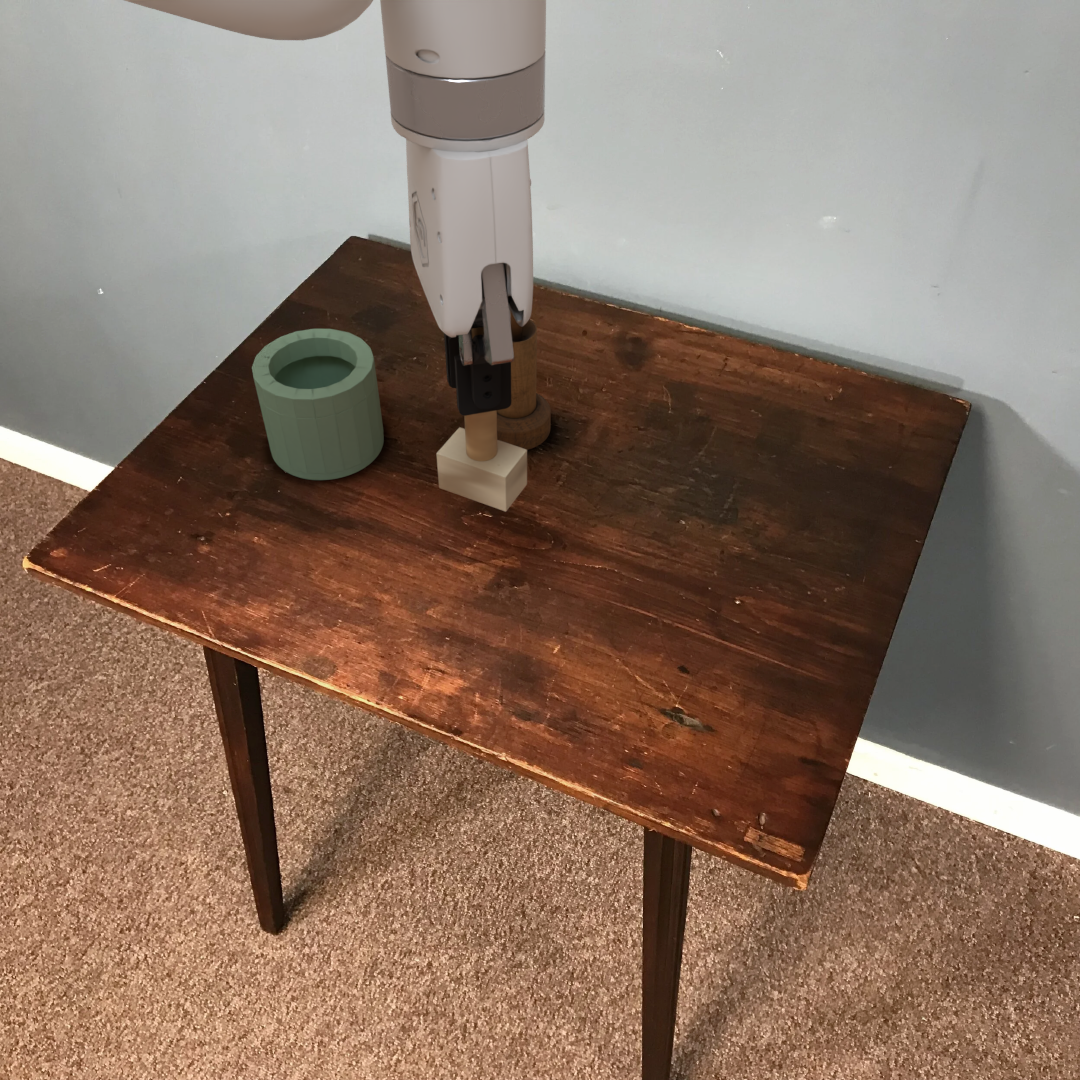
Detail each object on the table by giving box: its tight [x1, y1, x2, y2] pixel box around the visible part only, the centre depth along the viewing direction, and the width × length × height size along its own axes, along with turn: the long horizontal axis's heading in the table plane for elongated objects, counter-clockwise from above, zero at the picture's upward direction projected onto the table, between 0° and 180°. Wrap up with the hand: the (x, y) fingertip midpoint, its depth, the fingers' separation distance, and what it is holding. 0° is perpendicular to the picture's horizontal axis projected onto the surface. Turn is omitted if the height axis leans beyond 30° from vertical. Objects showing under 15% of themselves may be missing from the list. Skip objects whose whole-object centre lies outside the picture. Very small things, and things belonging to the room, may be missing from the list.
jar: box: [251, 328, 385, 481], centre depth 92 cm, size 10×10×9 cm
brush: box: [435, 327, 528, 513], centre depth 64 cm, size 5×3×13 cm, turn 63°
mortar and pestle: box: [497, 312, 552, 451], centre depth 90 cm, size 7×6×18 cm
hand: (478, 393), depth 63 cm, fingers closed on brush, 2 cm apart
